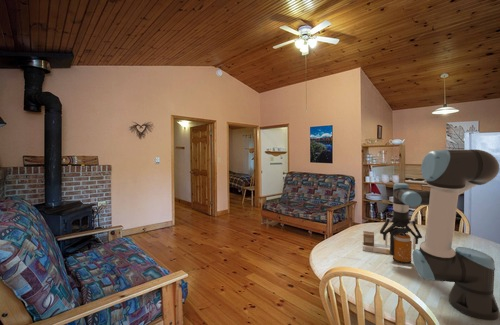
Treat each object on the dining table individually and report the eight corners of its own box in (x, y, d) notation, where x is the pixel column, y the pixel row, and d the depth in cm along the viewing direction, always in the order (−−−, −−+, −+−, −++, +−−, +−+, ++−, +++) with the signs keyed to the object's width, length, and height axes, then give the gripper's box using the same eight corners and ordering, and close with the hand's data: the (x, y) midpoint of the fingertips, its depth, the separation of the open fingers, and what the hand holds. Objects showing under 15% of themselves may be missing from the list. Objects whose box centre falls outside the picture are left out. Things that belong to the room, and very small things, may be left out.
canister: (414, 266, 134) (414, 230, 133) (391, 265, 136) (392, 229, 135) (407, 259, 143) (407, 225, 141) (386, 257, 145) (386, 224, 144)
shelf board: (407, 258, 143) (408, 251, 143) (362, 252, 153) (362, 245, 153) (403, 249, 156) (403, 242, 156) (362, 243, 166) (362, 238, 166)
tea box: (374, 249, 154) (374, 235, 154) (363, 247, 157) (363, 234, 156) (373, 245, 160) (373, 232, 159) (363, 244, 162) (363, 231, 162)
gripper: (425, 211, 136) (424, 248, 137) (375, 207, 146) (374, 242, 147) (429, 214, 129) (428, 253, 131) (376, 210, 139) (375, 246, 141)
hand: (399, 247), depth 139 cm, fingers open, 13 cm apart
